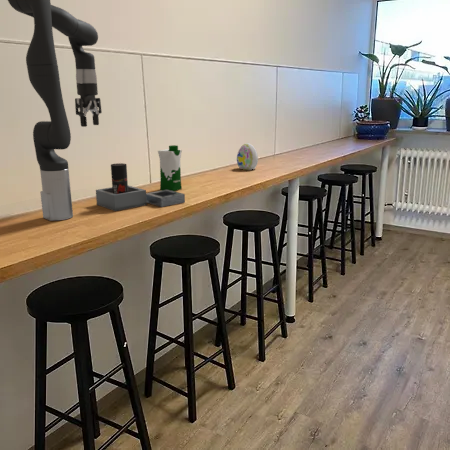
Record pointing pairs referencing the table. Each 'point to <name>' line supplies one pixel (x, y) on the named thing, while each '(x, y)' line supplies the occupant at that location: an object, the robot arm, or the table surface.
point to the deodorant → (119, 178)
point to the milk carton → (170, 168)
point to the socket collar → (165, 198)
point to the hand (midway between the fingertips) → (90, 125)
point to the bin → (121, 198)
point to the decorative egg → (247, 157)
